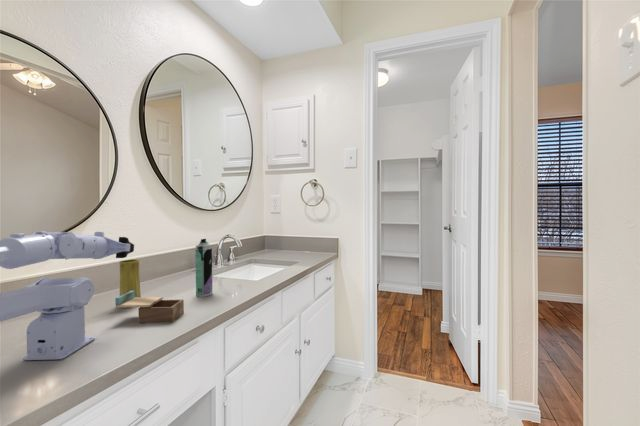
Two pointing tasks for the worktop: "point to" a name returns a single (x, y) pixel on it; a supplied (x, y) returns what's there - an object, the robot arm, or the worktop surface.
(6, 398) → the worktop surface
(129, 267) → the vase
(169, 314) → the box
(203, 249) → the spray can
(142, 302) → the tan panel teal strip
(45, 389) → the worktop surface
